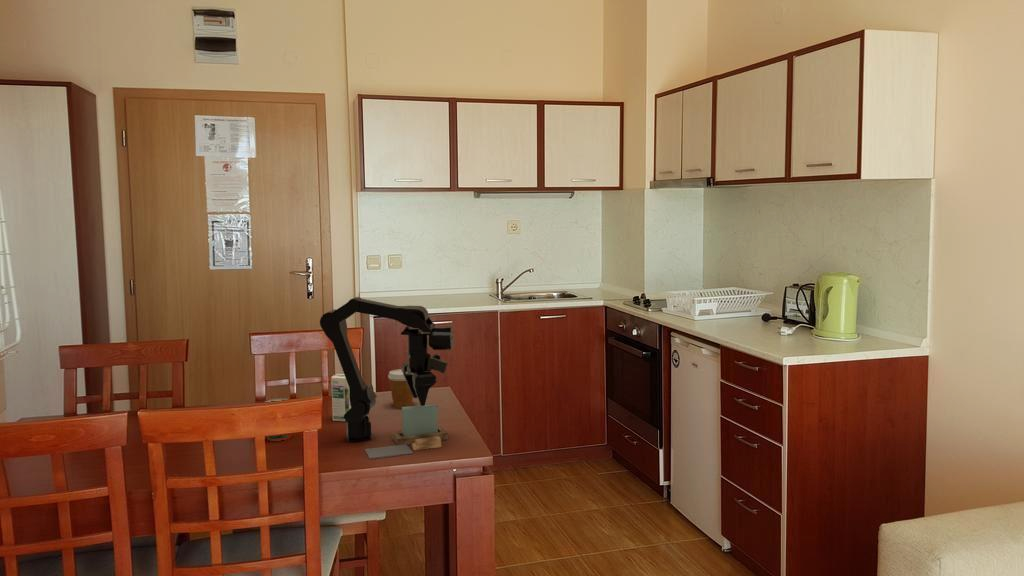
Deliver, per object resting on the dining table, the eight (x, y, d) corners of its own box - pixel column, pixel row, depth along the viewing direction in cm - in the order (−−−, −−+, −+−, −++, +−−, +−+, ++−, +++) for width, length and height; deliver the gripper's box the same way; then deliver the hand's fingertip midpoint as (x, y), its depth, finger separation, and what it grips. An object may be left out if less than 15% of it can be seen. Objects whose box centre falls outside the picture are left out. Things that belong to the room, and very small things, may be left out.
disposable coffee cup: (391, 402, 269) (390, 368, 268) (418, 402, 269) (417, 368, 268) (386, 409, 260) (385, 375, 259) (414, 409, 260) (413, 375, 258)
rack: (397, 445, 222) (397, 439, 222) (392, 439, 229) (392, 432, 228) (447, 439, 228) (447, 433, 227) (441, 433, 234) (441, 426, 233)
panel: (404, 443, 225) (403, 409, 224) (402, 440, 228) (401, 407, 227) (438, 439, 228) (437, 406, 227) (435, 436, 231) (434, 403, 230)
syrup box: (332, 421, 248) (330, 376, 246) (340, 415, 253) (338, 372, 252) (348, 422, 246) (346, 377, 245) (356, 416, 252) (354, 373, 250)
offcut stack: (414, 450, 218) (413, 442, 218) (411, 447, 221) (411, 439, 221) (441, 447, 221) (441, 438, 221) (438, 443, 224) (438, 435, 223)
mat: (369, 459, 211) (369, 458, 211) (365, 450, 219) (364, 449, 218) (412, 453, 215) (412, 452, 215) (406, 445, 223) (406, 444, 223)
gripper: (453, 353, 219) (454, 407, 221) (436, 342, 236) (437, 391, 238) (414, 356, 215) (416, 411, 217) (400, 344, 232) (401, 395, 234)
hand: (419, 401), depth 227 cm, fingers open, 9 cm apart
